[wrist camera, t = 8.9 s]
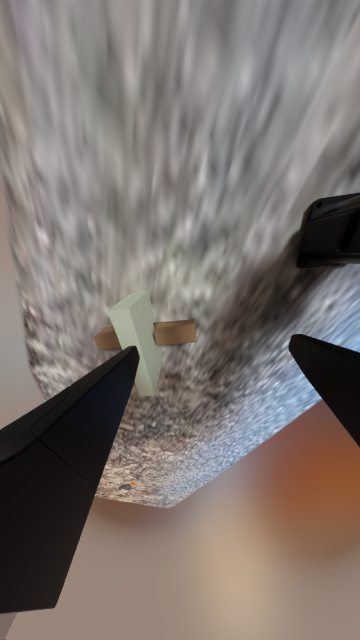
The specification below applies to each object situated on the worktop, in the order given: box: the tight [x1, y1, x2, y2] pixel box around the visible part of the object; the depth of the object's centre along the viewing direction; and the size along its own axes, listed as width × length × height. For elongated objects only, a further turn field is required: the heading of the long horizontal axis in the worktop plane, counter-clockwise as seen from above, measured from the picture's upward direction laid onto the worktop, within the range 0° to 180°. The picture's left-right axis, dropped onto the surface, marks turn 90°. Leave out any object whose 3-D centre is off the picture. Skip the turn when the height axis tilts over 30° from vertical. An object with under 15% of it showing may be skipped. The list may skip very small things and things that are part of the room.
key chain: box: [119, 482, 138, 492], centre depth 52 cm, size 13×4×2 cm, turn 139°
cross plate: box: [108, 290, 163, 396], centre depth 18 cm, size 12×2×7 cm, turn 7°
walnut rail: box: [94, 319, 197, 350], centre depth 20 cm, size 14×2×3 cm, turn 96°
